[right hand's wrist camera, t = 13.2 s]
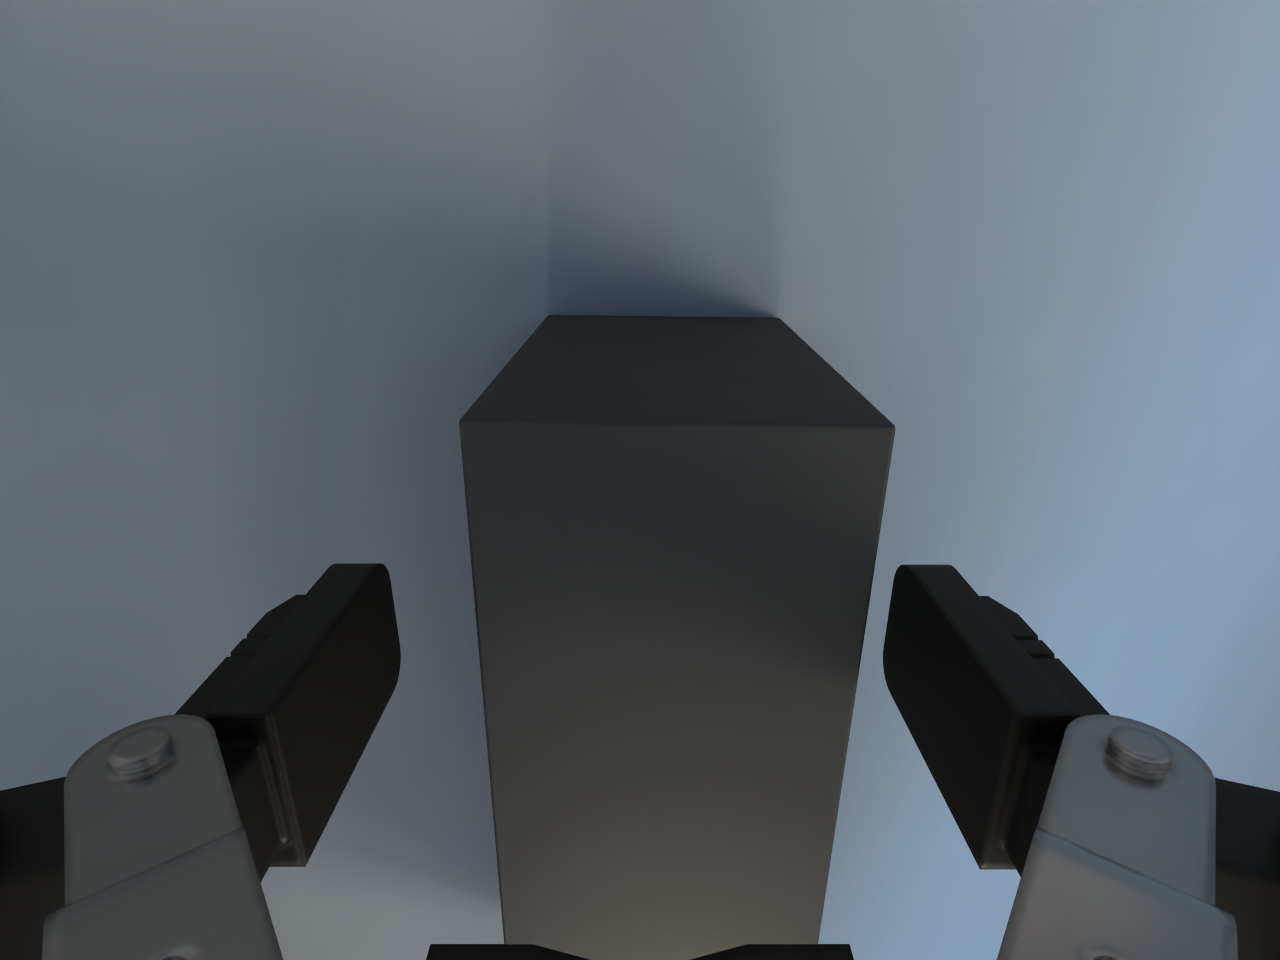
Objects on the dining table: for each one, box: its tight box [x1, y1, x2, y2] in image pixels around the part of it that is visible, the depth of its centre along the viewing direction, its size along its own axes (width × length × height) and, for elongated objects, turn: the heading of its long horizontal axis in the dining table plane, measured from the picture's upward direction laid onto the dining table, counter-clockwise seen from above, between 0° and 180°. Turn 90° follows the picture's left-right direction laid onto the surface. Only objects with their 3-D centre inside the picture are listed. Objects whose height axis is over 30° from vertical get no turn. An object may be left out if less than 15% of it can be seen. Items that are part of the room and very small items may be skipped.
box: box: [459, 315, 895, 960], centre depth 18 cm, size 22×6×9 cm, turn 179°
